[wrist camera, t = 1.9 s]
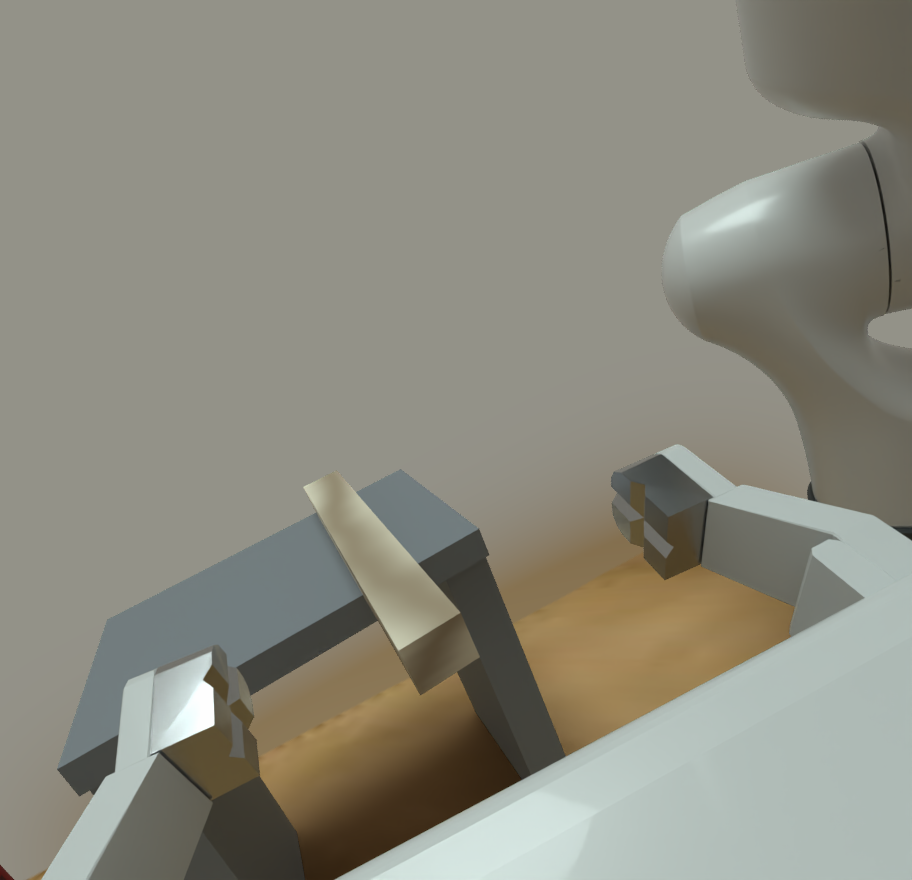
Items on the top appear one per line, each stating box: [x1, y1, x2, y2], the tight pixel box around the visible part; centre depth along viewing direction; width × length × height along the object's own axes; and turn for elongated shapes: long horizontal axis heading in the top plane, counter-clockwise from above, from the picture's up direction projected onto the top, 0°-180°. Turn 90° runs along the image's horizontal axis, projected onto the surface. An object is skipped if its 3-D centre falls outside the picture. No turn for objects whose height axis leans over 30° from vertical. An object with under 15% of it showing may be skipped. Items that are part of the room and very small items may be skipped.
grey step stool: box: [57, 469, 566, 880], centre depth 44 cm, size 25×16×26 cm, turn 114°
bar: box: [303, 471, 480, 695], centre depth 36 cm, size 3×26×2 cm, turn 24°
